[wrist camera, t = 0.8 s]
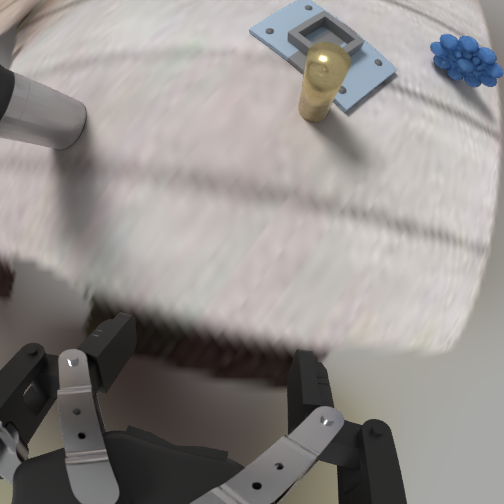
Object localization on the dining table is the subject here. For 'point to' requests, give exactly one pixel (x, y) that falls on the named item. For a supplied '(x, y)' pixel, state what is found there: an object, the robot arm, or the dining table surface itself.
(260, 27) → the square socket mounting plate
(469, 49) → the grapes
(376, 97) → the dining table surface
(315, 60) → the pin
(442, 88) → the dining table surface
